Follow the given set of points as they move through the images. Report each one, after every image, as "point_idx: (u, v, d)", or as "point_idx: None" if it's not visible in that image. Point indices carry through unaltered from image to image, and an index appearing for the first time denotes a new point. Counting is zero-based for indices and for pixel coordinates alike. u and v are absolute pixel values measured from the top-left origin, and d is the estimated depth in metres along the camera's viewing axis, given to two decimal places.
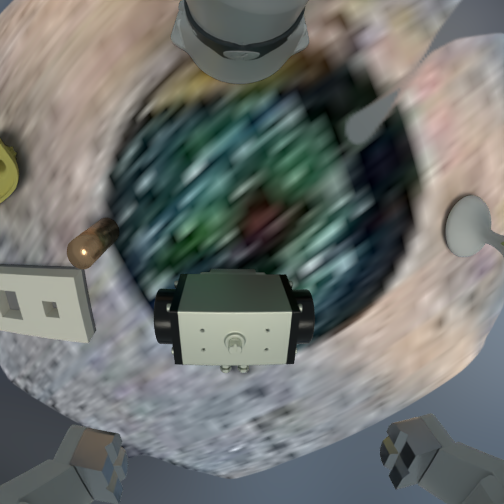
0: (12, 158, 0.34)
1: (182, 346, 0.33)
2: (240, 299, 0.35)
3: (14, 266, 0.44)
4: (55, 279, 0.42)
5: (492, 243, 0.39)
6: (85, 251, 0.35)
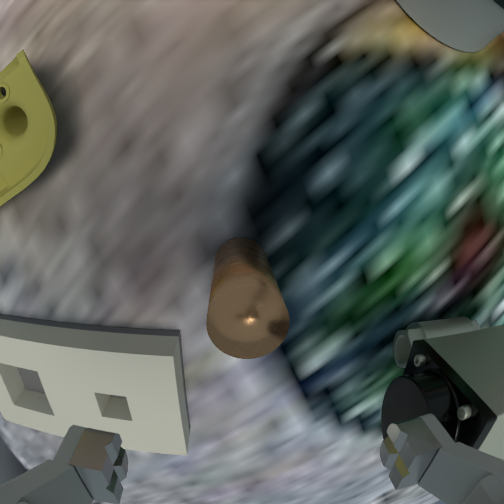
0: (48, 99, 0.16)
1: None
2: None
3: (31, 322, 0.24)
4: (128, 358, 0.22)
5: None
6: (265, 318, 0.15)
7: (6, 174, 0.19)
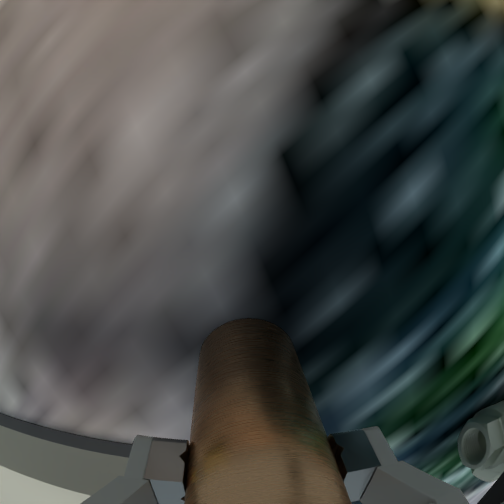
0: None
1: None
2: None
3: None
4: (72, 495, 0.10)
5: None
6: None
7: None
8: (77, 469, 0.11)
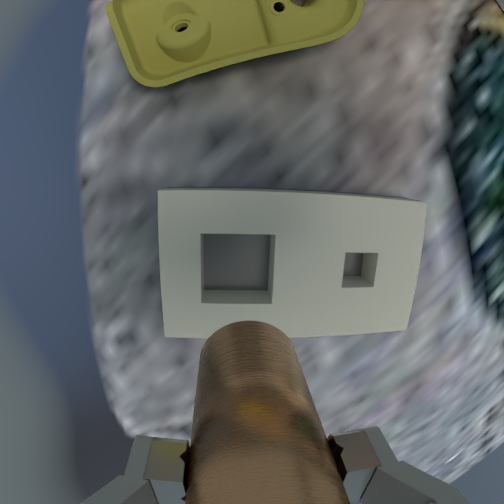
0: None
1: None
2: None
3: (253, 188, 0.26)
4: (393, 205, 0.24)
5: None
6: None
7: (281, 31, 0.21)
8: (385, 197, 0.25)
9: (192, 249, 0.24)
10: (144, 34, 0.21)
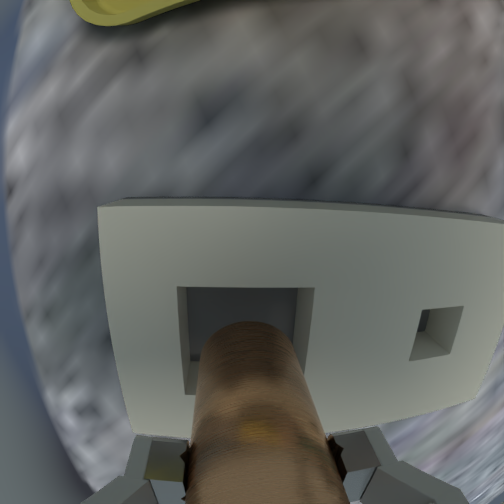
0: None
1: None
2: None
3: (271, 199, 0.15)
4: (489, 231, 0.13)
5: None
6: None
7: None
8: (474, 217, 0.14)
9: (164, 313, 0.13)
10: None
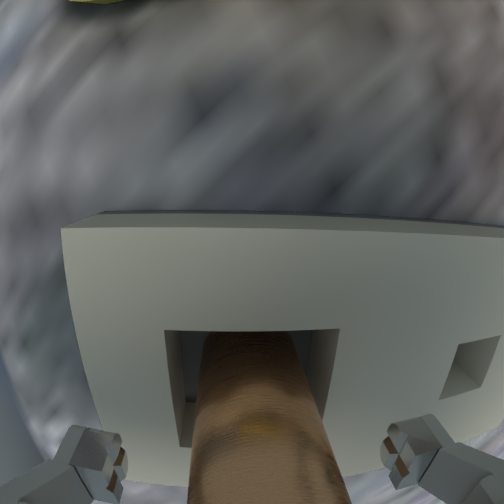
0: None
1: None
2: None
3: (283, 214, 0.12)
4: None
5: None
6: None
7: None
8: None
9: (150, 360, 0.10)
10: None
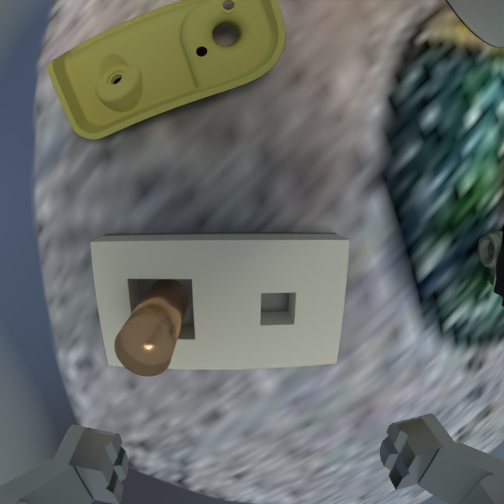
0: None
1: None
2: None
3: (177, 234, 0.28)
4: (309, 245, 0.26)
5: None
6: (152, 347, 0.20)
7: (205, 75, 0.24)
8: (305, 236, 0.28)
9: (122, 292, 0.26)
10: (85, 87, 0.23)
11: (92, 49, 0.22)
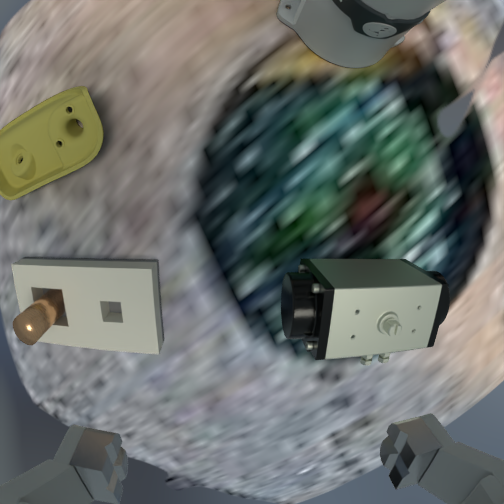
0: (100, 120, 0.31)
1: (330, 335, 0.28)
2: (387, 276, 0.30)
3: (60, 259, 0.39)
4: (124, 272, 0.37)
5: None
6: (28, 329, 0.31)
7: (64, 159, 0.34)
8: (127, 264, 0.38)
9: (29, 294, 0.37)
10: (5, 164, 0.34)
11: (5, 139, 0.32)
